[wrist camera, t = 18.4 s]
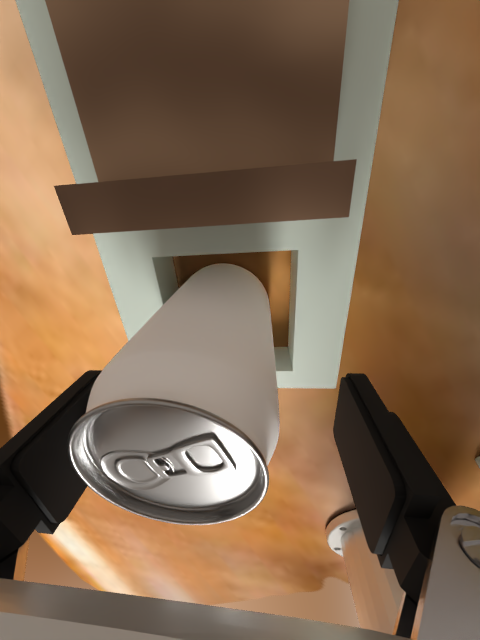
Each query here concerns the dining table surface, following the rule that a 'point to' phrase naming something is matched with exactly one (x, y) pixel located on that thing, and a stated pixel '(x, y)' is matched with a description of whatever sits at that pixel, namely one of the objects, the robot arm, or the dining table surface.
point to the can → (187, 406)
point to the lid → (205, 111)
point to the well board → (298, 236)
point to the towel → (478, 461)
